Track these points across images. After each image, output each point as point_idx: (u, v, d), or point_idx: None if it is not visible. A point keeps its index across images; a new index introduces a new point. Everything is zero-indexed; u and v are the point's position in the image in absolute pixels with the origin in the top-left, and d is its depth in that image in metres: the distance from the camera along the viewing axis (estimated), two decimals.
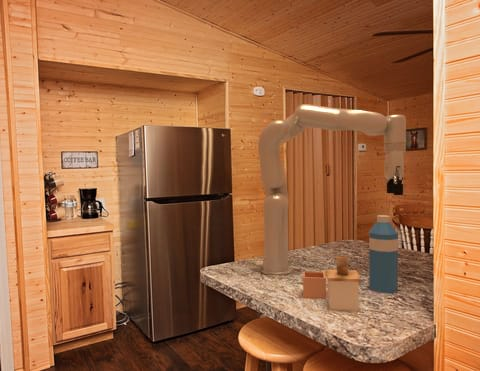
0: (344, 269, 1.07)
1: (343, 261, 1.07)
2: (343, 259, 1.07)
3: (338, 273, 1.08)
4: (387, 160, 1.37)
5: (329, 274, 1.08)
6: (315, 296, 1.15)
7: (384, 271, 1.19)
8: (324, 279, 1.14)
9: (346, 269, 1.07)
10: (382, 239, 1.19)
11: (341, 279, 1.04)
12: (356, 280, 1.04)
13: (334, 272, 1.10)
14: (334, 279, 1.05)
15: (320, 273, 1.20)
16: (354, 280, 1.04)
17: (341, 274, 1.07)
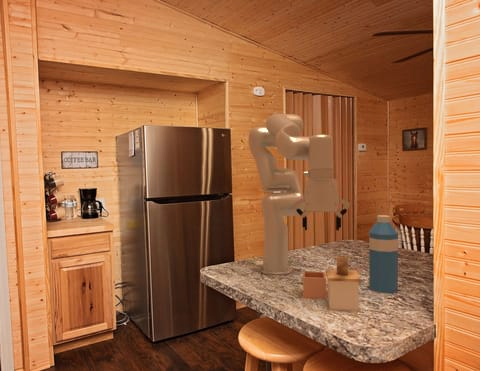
0: (344, 269, 1.07)
1: (343, 261, 1.07)
2: (343, 259, 1.07)
3: (338, 273, 1.08)
4: (324, 189, 1.11)
5: (329, 274, 1.08)
6: (315, 296, 1.15)
7: (384, 271, 1.19)
8: (324, 279, 1.14)
9: (346, 269, 1.07)
10: (382, 239, 1.19)
11: (341, 279, 1.04)
12: (356, 280, 1.04)
13: (334, 272, 1.10)
14: (334, 279, 1.05)
15: (320, 273, 1.20)
16: (354, 280, 1.04)
17: (341, 274, 1.07)
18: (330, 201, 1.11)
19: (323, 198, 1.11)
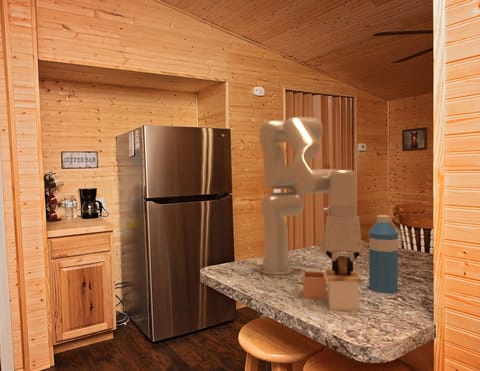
0: (344, 269, 1.07)
1: (343, 261, 1.07)
2: (343, 259, 1.07)
3: (338, 273, 1.08)
4: (346, 228, 1.05)
5: (329, 274, 1.08)
6: (315, 296, 1.15)
7: (384, 271, 1.19)
8: (324, 279, 1.14)
9: (346, 269, 1.07)
10: (382, 239, 1.19)
11: (341, 279, 1.04)
12: (356, 280, 1.04)
13: None
14: (334, 279, 1.05)
15: (320, 273, 1.20)
16: (354, 280, 1.04)
17: (341, 274, 1.07)
18: (352, 240, 1.05)
19: (345, 237, 1.05)
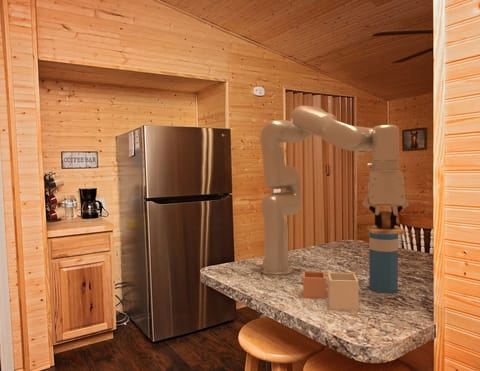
0: (388, 223, 1.09)
1: (387, 215, 1.09)
2: (387, 213, 1.09)
3: (381, 227, 1.10)
4: (390, 182, 1.07)
5: (372, 228, 1.10)
6: (315, 296, 1.15)
7: (384, 271, 1.19)
8: (324, 279, 1.14)
9: (389, 223, 1.09)
10: (382, 239, 1.19)
11: (386, 231, 1.06)
12: (401, 232, 1.06)
13: None
14: (379, 231, 1.07)
15: (320, 273, 1.20)
16: (399, 232, 1.06)
17: (385, 228, 1.09)
18: (397, 194, 1.07)
19: (389, 191, 1.07)
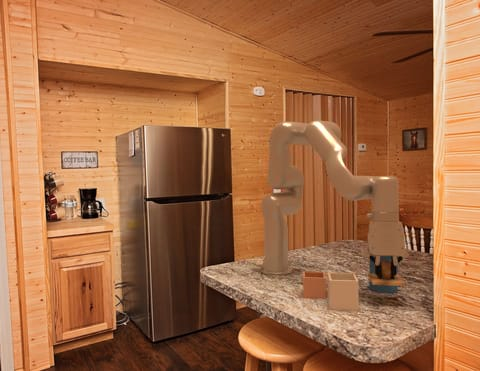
0: (388, 273, 1.10)
1: (387, 265, 1.09)
2: (387, 263, 1.10)
3: (382, 277, 1.10)
4: (390, 233, 1.08)
5: (373, 278, 1.11)
6: (315, 296, 1.15)
7: None
8: (324, 279, 1.14)
9: (390, 273, 1.10)
10: None
11: (386, 283, 1.07)
12: (401, 284, 1.06)
13: None
14: (379, 283, 1.07)
15: (320, 273, 1.20)
16: (399, 284, 1.06)
17: (385, 278, 1.10)
18: (396, 245, 1.08)
19: (389, 242, 1.08)
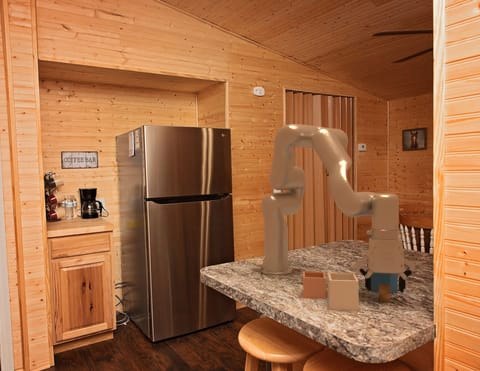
0: (387, 297, 1.10)
1: (386, 289, 1.10)
2: (386, 287, 1.10)
3: (381, 301, 1.11)
4: (390, 251, 1.08)
5: None
6: (315, 296, 1.15)
7: None
8: (324, 279, 1.14)
9: (389, 297, 1.10)
10: None
11: None
12: None
13: None
14: None
15: (320, 273, 1.20)
16: None
17: (384, 302, 1.10)
18: (396, 263, 1.08)
19: (389, 259, 1.08)
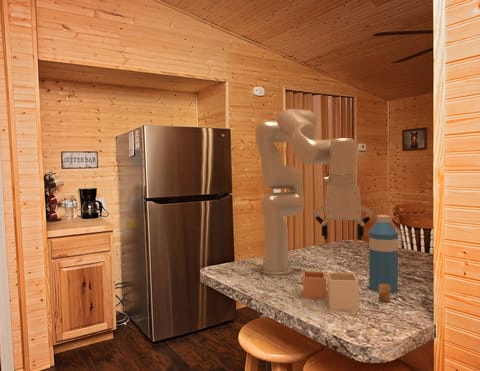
0: (387, 297, 1.10)
1: (386, 289, 1.10)
2: (386, 287, 1.10)
3: (381, 301, 1.11)
4: (346, 196, 1.05)
5: None
6: (315, 296, 1.15)
7: (384, 271, 1.19)
8: (324, 279, 1.14)
9: (389, 297, 1.10)
10: (382, 239, 1.19)
11: None
12: None
13: None
14: None
15: (320, 273, 1.20)
16: None
17: (384, 302, 1.10)
18: (352, 209, 1.05)
19: (345, 205, 1.05)
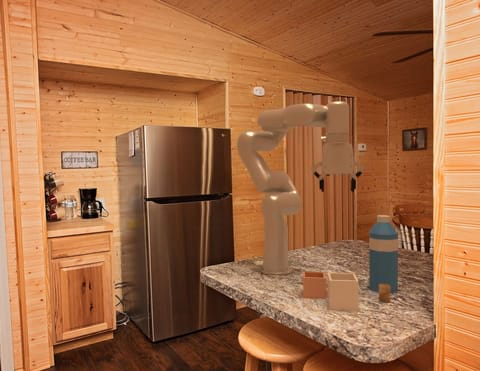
0: (387, 297, 1.10)
1: (386, 289, 1.10)
2: (386, 287, 1.10)
3: (380, 301, 1.11)
4: (340, 153, 1.19)
5: None
6: (315, 296, 1.15)
7: (384, 271, 1.19)
8: (324, 279, 1.14)
9: (389, 297, 1.10)
10: (382, 239, 1.19)
11: None
12: None
13: None
14: None
15: (320, 273, 1.20)
16: None
17: (384, 302, 1.10)
18: (346, 164, 1.19)
19: (340, 161, 1.19)
